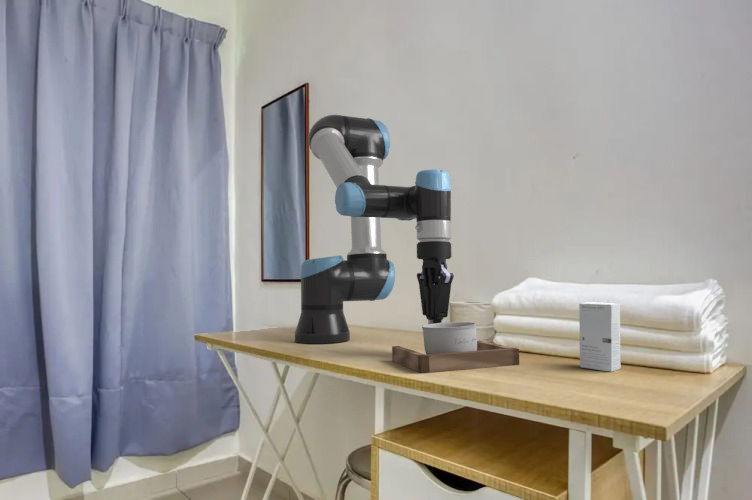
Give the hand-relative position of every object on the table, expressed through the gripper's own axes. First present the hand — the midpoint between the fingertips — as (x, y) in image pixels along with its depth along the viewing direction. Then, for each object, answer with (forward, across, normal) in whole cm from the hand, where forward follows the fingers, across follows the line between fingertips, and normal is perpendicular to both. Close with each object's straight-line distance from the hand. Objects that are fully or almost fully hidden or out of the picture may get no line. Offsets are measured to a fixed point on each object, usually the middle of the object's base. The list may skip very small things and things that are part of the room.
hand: (435, 349), depth 105 cm
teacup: (+2, +8, 0) cm, 8 cm away
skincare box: (+1, +25, +21) cm, 33 cm away
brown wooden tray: (+1, +8, 0) cm, 8 cm away
